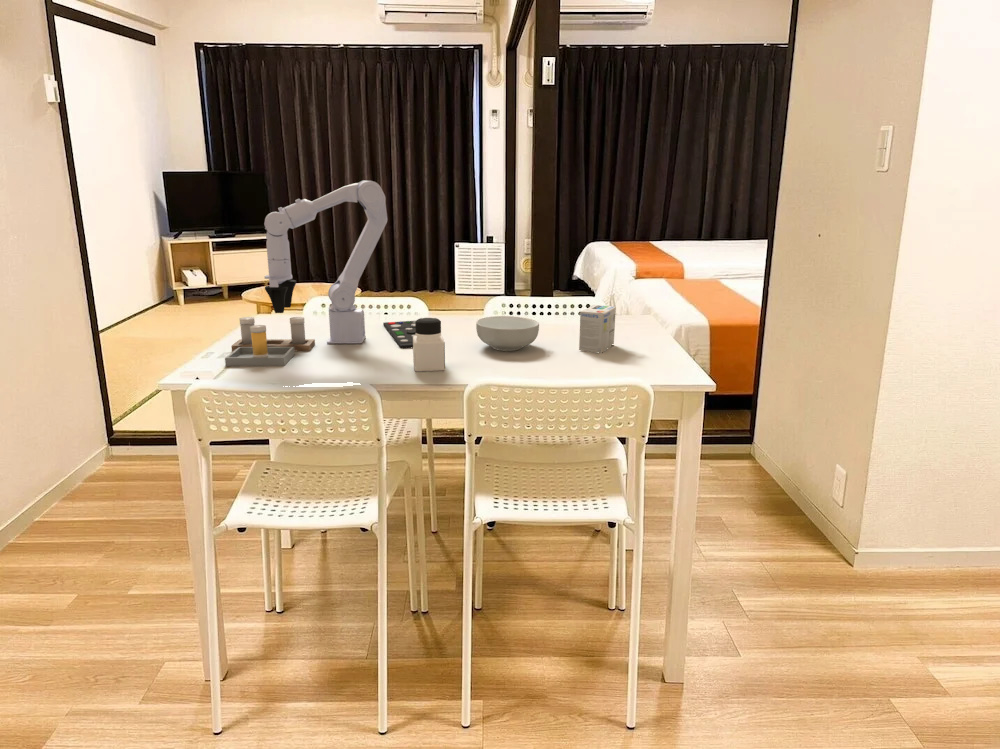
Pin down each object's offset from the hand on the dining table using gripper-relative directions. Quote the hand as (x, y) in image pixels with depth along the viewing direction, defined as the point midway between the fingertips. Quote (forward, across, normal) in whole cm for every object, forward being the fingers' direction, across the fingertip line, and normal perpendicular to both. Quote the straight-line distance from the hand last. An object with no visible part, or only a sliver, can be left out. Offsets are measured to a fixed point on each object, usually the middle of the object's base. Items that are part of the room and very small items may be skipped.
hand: (282, 310), depth 193 cm
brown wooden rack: (+9, +4, -2) cm, 10 cm away
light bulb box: (+10, +5, +84) cm, 85 cm away
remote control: (+10, -11, +33) cm, 36 cm away
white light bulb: (+9, +4, -8) cm, 13 cm away
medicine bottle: (+10, +24, +40) cm, 48 cm away
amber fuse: (+9, +16, -2) cm, 19 cm away
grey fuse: (+9, +4, +4) cm, 11 cm away
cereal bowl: (+10, +4, +60) cm, 61 cm away
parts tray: (+9, +16, -2) cm, 19 cm away
